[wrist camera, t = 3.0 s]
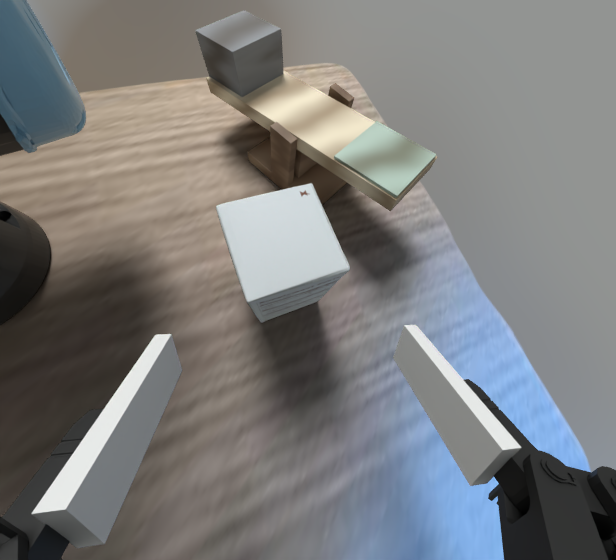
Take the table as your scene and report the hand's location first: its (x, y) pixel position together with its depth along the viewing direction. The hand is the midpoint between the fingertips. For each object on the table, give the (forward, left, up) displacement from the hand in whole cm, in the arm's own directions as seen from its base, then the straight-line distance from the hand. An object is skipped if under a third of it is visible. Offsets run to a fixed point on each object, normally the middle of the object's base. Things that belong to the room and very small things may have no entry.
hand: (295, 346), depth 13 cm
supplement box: (-1, +7, -13) cm, 15 cm away
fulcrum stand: (+3, +25, -12) cm, 28 cm away
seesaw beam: (+3, +25, -6) cm, 26 cm away
